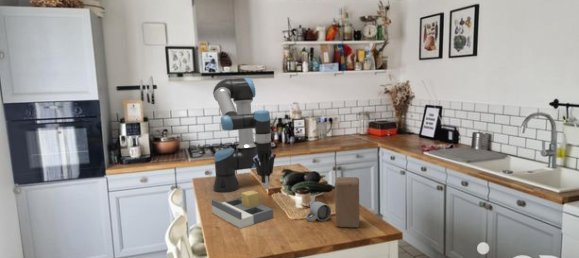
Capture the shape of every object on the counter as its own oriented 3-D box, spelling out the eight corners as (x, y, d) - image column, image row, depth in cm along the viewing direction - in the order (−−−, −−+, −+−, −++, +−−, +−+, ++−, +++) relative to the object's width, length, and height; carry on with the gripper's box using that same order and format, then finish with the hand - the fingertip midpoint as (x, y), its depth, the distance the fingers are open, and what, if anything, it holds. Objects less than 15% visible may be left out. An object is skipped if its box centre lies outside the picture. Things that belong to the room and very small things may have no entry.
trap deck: (243, 204, 200) (242, 191, 199) (273, 217, 180) (272, 203, 179) (212, 213, 189) (211, 199, 188) (240, 228, 169) (239, 213, 168)
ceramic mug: (322, 213, 182) (321, 198, 181) (331, 219, 175) (331, 203, 174) (302, 218, 178) (301, 202, 176) (311, 224, 170) (310, 208, 169)
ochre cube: (252, 201, 191) (251, 190, 190) (259, 204, 186) (258, 192, 185) (241, 204, 187) (241, 192, 186) (248, 207, 183) (247, 195, 182)
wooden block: (359, 228, 164) (358, 183, 161) (335, 227, 166) (334, 182, 163) (359, 219, 173) (359, 176, 170) (337, 218, 175) (336, 176, 172)
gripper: (256, 144, 181) (259, 193, 185) (278, 140, 189) (280, 187, 193) (248, 143, 187) (250, 189, 190) (269, 139, 195) (272, 184, 198)
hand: (265, 188), depth 191 cm, fingers closed
